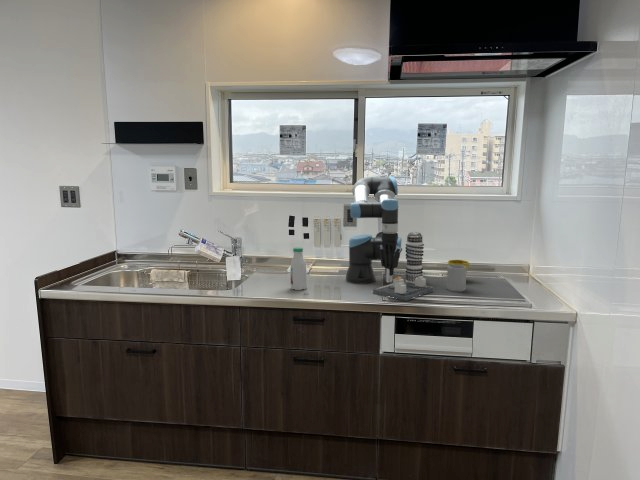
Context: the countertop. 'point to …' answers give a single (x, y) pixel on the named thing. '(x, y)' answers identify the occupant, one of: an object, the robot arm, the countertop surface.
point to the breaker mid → (397, 281)
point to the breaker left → (400, 288)
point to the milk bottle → (298, 270)
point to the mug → (456, 278)
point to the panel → (410, 293)
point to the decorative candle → (414, 256)
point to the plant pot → (459, 263)
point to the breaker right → (420, 281)
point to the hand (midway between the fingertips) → (389, 281)
